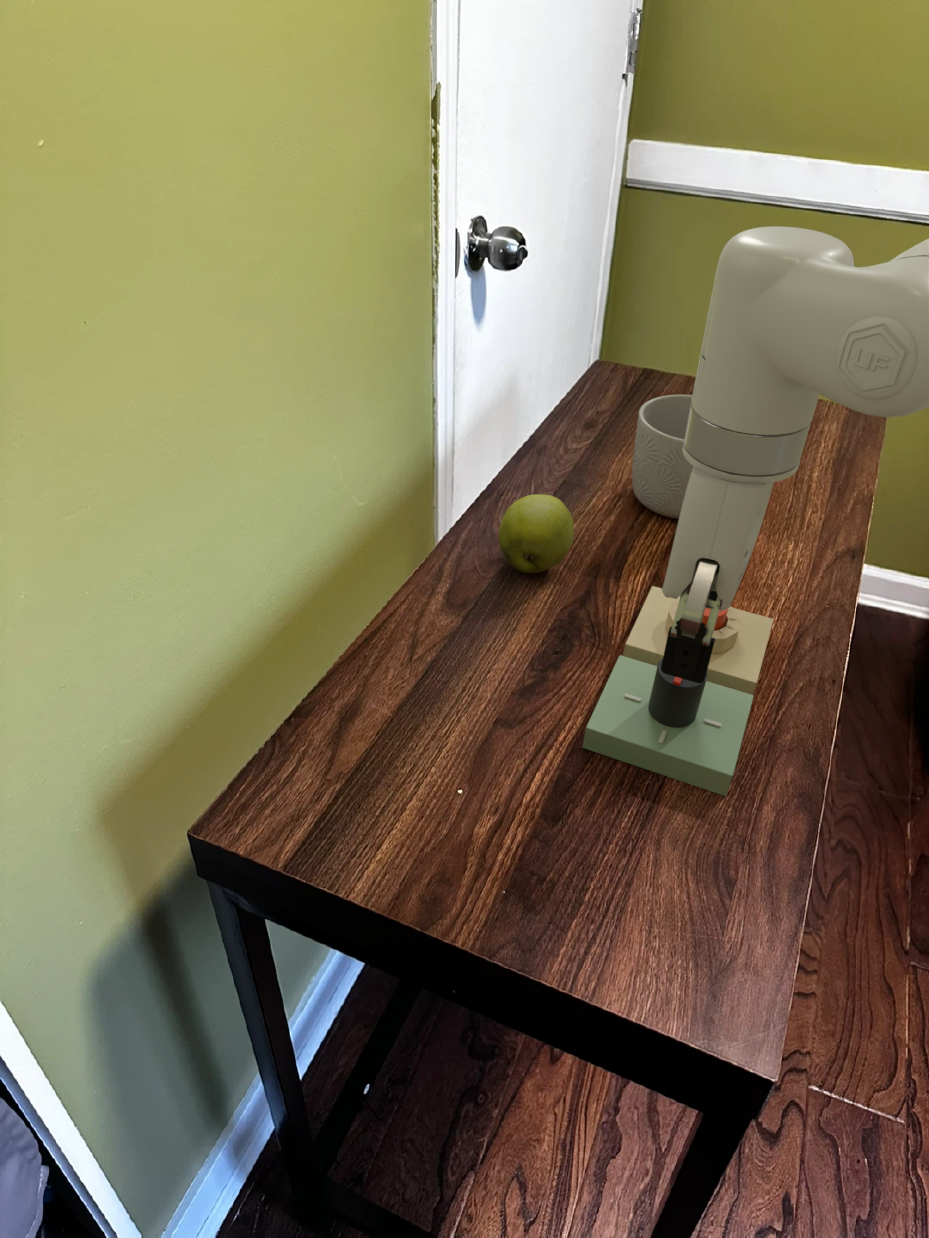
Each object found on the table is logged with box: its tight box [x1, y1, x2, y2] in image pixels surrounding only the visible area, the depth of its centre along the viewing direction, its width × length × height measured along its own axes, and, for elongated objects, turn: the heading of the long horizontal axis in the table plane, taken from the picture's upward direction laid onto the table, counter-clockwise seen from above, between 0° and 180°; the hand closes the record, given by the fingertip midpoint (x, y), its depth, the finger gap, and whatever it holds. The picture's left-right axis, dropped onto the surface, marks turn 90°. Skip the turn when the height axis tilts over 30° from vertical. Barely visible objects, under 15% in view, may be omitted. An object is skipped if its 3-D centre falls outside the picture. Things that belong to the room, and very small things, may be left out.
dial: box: [648, 658, 708, 728], centre depth 70 cm, size 4×4×5 cm
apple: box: [498, 493, 575, 574], centre depth 90 cm, size 8×9×8 cm
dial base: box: [582, 654, 755, 797], centre depth 73 cm, size 12×10×3 cm
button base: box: [622, 585, 774, 695], centre depth 81 cm, size 12×10×4 cm
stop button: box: [701, 608, 728, 631], centre depth 79 cm, size 4×4×2 cm
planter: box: [631, 394, 693, 520], centre depth 100 cm, size 12×12×11 cm
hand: (696, 637), depth 67 cm, fingers open, 9 cm apart
